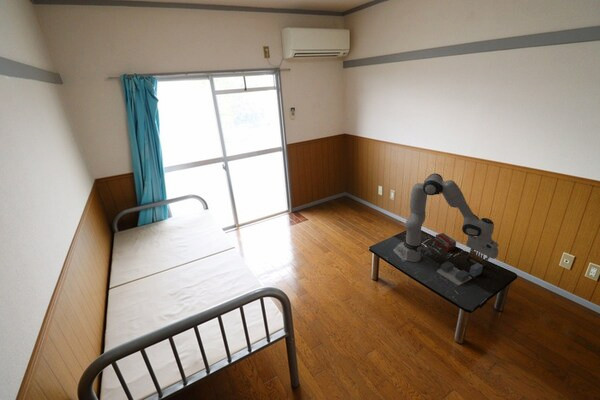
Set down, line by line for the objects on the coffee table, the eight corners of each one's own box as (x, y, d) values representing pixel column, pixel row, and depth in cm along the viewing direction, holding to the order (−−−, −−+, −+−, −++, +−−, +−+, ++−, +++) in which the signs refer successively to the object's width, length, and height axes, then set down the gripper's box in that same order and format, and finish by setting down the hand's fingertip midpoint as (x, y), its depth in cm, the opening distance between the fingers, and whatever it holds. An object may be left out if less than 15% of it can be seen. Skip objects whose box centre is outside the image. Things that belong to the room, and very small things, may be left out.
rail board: (436, 271, 211) (437, 265, 208) (449, 265, 216) (450, 259, 214) (458, 285, 196) (460, 279, 194) (471, 278, 202) (473, 272, 199)
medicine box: (455, 249, 234) (456, 241, 231) (447, 251, 232) (448, 243, 228) (441, 240, 247) (442, 232, 244) (434, 242, 245) (435, 234, 242)
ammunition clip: (466, 260, 220) (469, 248, 215) (468, 260, 220) (471, 247, 215) (480, 268, 211) (483, 255, 206) (482, 267, 212) (485, 254, 207)
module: (468, 274, 206) (470, 266, 203) (475, 270, 209) (477, 262, 206) (474, 277, 203) (476, 269, 200) (481, 273, 206) (483, 265, 203)
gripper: (465, 235, 201) (462, 251, 207) (495, 248, 184) (491, 265, 190) (471, 232, 204) (468, 248, 209) (501, 245, 187) (497, 262, 192)
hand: (479, 256), depth 200 cm, fingers open, 8 cm apart
